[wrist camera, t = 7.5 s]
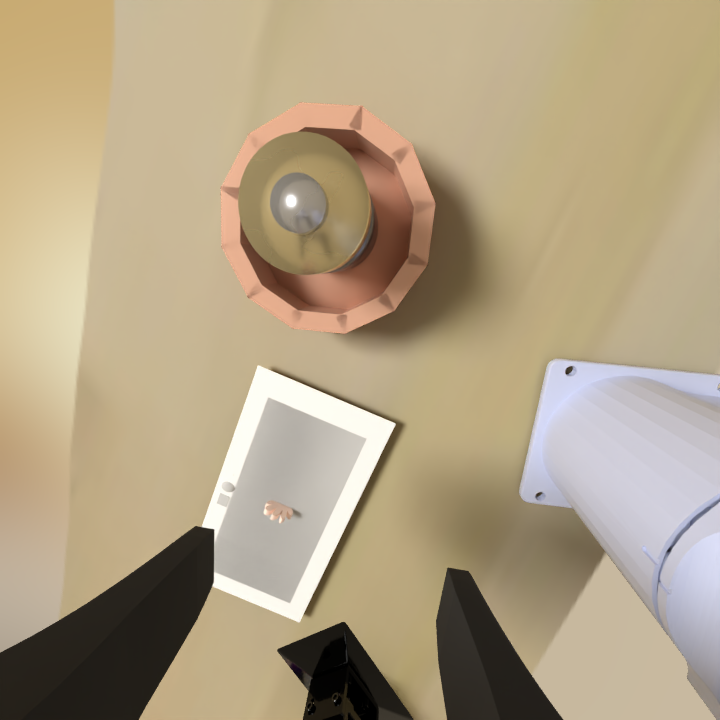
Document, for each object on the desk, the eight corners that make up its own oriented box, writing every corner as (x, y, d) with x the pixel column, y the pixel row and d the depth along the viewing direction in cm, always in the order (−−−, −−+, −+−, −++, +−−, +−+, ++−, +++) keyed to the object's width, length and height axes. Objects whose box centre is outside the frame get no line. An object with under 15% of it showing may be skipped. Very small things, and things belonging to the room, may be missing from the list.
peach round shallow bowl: (438, 138, 16) (448, 110, 13) (414, 329, 18) (418, 341, 15) (249, 127, 17) (218, 96, 14) (248, 313, 19) (222, 321, 16)
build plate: (433, 722, 26) (442, 817, 21) (346, 749, 27) (337, 842, 23) (344, 594, 24) (332, 669, 19) (255, 630, 25) (225, 708, 21)
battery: (384, 186, 16) (377, 133, 10) (371, 277, 17) (356, 284, 11) (296, 174, 16) (232, 115, 10) (288, 265, 17) (226, 265, 11)
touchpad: (395, 415, 20) (396, 432, 18) (303, 606, 24) (294, 639, 22) (265, 360, 20) (250, 370, 18) (194, 561, 24) (175, 589, 22)
